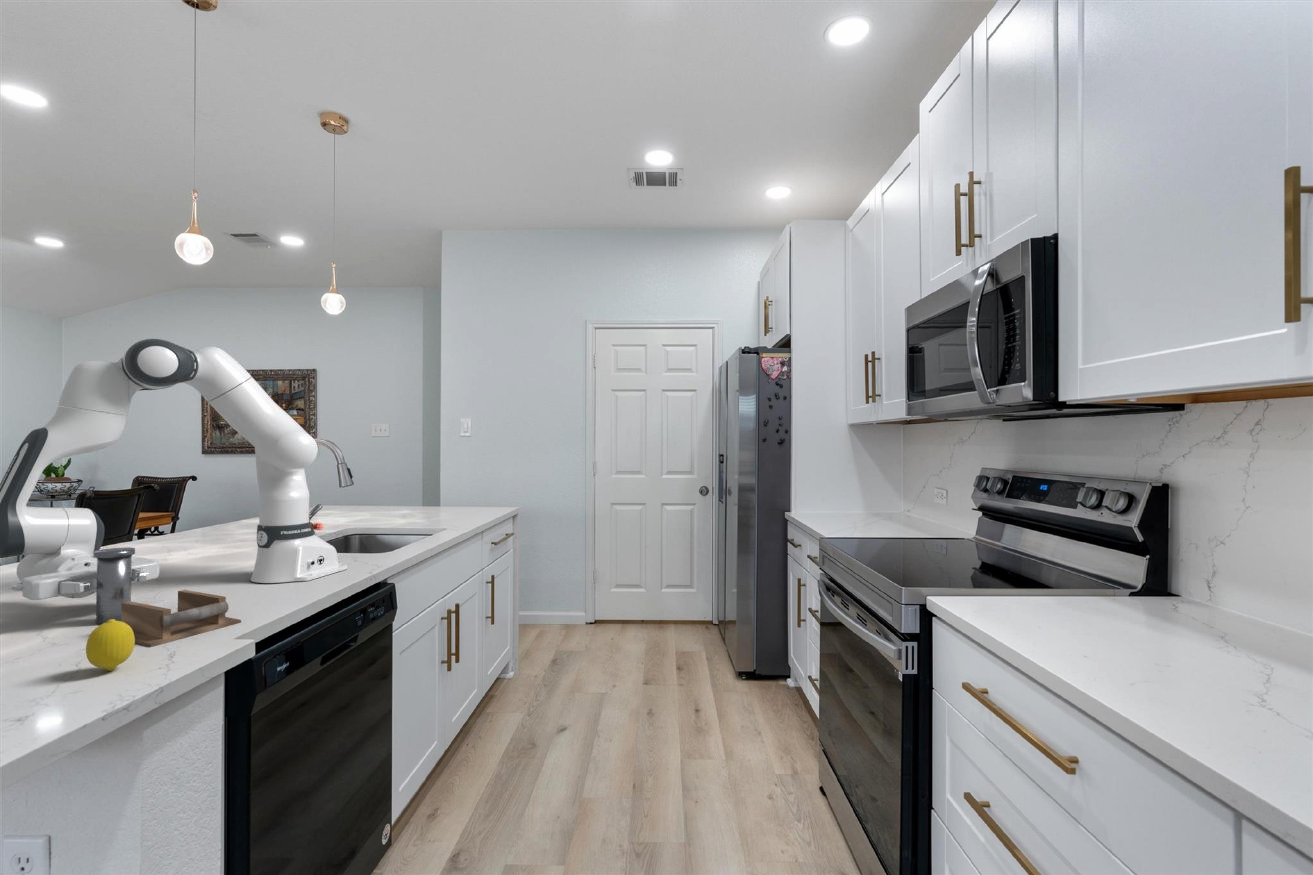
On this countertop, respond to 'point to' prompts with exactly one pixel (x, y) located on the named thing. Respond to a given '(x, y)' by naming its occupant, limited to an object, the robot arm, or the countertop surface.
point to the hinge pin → (112, 582)
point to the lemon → (110, 644)
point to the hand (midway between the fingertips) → (116, 582)
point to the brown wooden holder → (176, 618)
